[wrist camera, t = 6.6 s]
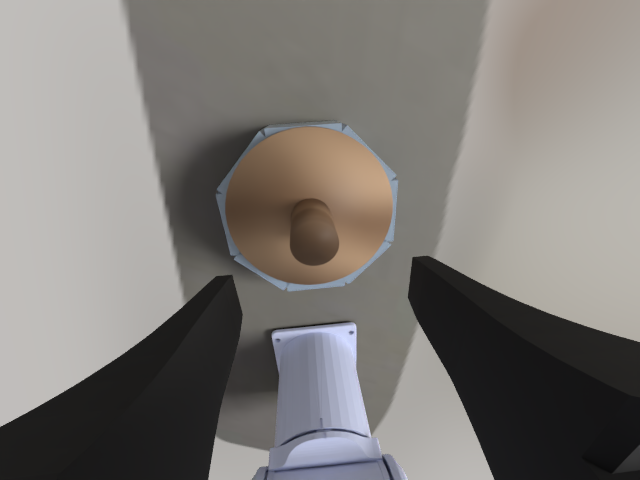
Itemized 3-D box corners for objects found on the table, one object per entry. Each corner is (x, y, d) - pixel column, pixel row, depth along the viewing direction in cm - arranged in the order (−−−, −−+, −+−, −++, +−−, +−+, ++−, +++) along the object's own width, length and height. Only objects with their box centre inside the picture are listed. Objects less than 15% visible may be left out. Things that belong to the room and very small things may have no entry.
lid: (383, 272, 19) (405, 314, 15) (244, 283, 18) (230, 329, 15) (395, 121, 14) (431, 127, 11) (211, 131, 14) (178, 140, 10)
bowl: (378, 260, 22) (390, 281, 19) (247, 272, 22) (240, 295, 19) (386, 116, 17) (403, 118, 14) (215, 128, 17) (199, 133, 14)
